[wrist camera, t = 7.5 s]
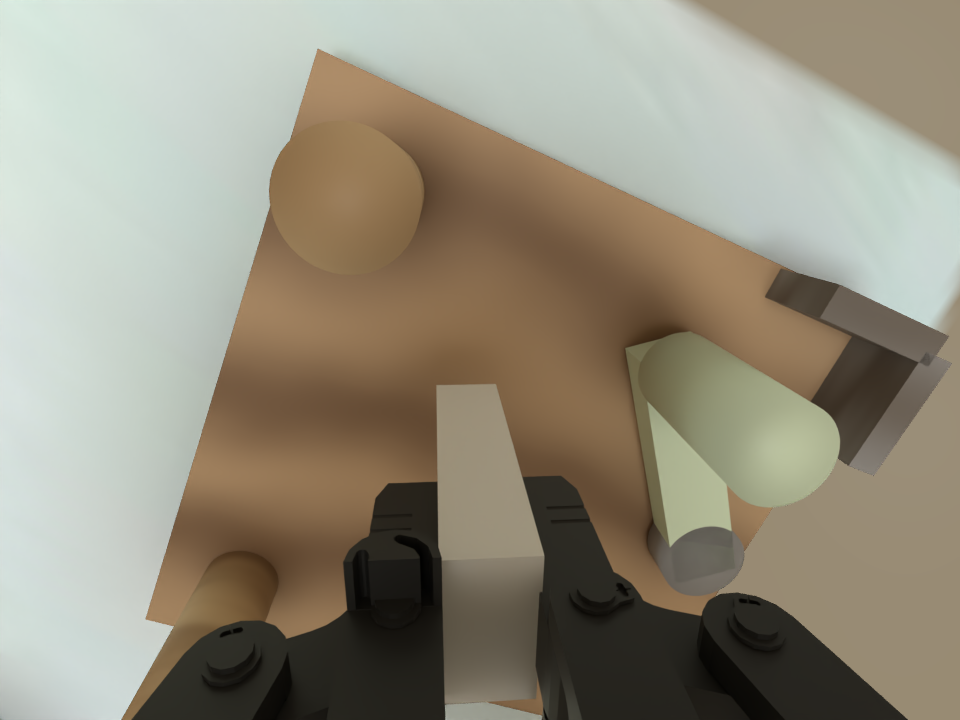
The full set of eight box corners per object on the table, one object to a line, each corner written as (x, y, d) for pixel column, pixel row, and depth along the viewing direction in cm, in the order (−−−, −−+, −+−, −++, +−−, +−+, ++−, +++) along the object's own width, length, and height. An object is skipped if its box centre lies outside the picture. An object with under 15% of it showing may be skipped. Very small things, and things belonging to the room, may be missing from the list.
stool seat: (611, 697, 28) (696, 945, 19) (168, 584, 24) (7, 835, 15) (856, 306, 22) (1144, 397, 13) (329, 61, 18) (228, -49, 9)
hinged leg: (726, 557, 23) (854, 722, 16) (653, 576, 23) (748, 750, 16) (698, 309, 20) (846, 385, 13) (611, 332, 20) (711, 421, 13)
